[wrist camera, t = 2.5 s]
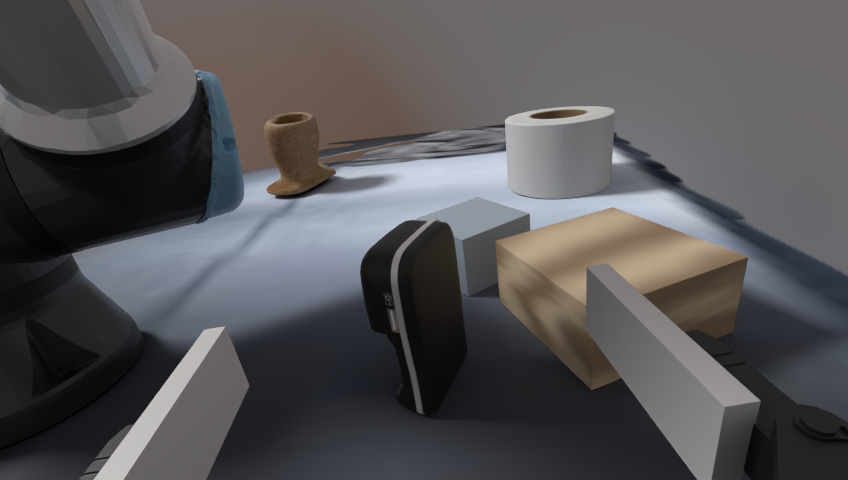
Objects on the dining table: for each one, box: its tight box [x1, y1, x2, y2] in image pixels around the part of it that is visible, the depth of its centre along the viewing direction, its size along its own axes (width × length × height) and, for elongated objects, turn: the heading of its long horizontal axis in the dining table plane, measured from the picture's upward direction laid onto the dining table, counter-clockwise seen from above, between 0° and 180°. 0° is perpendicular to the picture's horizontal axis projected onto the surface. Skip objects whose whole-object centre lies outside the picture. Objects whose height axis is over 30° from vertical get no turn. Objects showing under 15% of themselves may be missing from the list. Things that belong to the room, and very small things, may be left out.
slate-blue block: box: [417, 197, 530, 297], centre depth 42 cm, size 8×8×6 cm
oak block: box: [495, 208, 748, 390], centre depth 31 cm, size 12×12×6 cm
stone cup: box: [264, 112, 336, 195], centre depth 82 cm, size 15×12×15 cm
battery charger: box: [360, 220, 467, 414], centre depth 27 cm, size 7×4×11 cm, turn 155°
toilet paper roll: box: [505, 106, 615, 199], centre depth 62 cm, size 16×15×11 cm
